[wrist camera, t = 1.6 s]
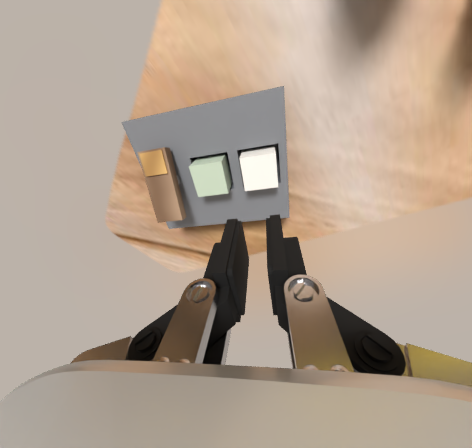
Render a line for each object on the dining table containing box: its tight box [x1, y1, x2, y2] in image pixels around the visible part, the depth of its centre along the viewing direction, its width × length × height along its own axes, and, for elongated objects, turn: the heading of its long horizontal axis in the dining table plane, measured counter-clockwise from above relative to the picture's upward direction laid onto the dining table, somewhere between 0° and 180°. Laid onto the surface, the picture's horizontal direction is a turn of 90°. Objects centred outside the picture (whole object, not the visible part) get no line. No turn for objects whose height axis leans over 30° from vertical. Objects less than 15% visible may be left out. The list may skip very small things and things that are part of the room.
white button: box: [239, 146, 278, 191], centre depth 21 cm, size 4×4×3 cm
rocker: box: [137, 147, 186, 222], centre depth 22 cm, size 3×8×1 cm, turn 11°
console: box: [122, 86, 289, 229], centre depth 24 cm, size 17×14×5 cm
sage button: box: [189, 154, 232, 197], centre depth 22 cm, size 4×4×3 cm
